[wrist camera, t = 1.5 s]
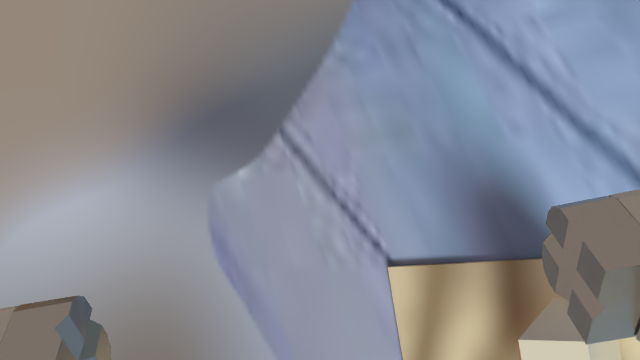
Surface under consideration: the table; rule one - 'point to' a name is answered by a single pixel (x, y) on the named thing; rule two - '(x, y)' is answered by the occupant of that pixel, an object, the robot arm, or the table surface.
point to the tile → (561, 338)
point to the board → (472, 309)
